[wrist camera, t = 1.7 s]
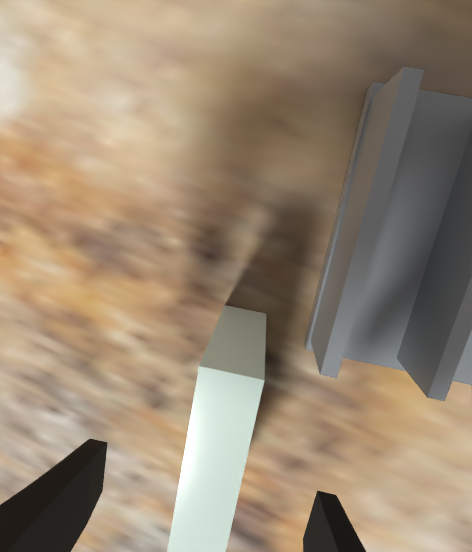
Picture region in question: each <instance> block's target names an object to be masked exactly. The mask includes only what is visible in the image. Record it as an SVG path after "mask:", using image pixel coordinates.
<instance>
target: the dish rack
mask: <svg viewBox="0 0 472 552" xmlns="http://www.w3.org/2000/svg"><path fill="white" fill-rule="evenodd" d="M424 71H425V70H422V69H416V68H410V67H403V68H402V69H401V70H400V71H399V72H397V73H396V74H395V75H394V76H393V77H392V78H391V79H390V80H389V81H388V82H387V83H386V84H385V83H379V82H373V83H372V84H371V85H370V86H369V88H368V90H367V94H366V98H365V102H364V106H363V110H362V113H361V117H360V121H359V125H358V129H357V133H356V137H355V141H354V145H353V149H352V153H351V157H350V161H349V165H348V169H347V173H346V177H345V181H344V185H343V189H342V193H341V197H340V201H339V205H338V209H337V213H336V217H335V221H334V225H333V229H332V233H331V237H330V241H329V245H328V249H327V253H326V257H325V261H324V265H323V269H322V273H321V277H320V281H319V285H318V289H317V293H316V296H315V300H314V304H313V308H312V312H311V316H310V320H309V324H308V328H307V332H306V336H305V340H304V345H305V349H306V350H309V351H314V354H315V358H316V361H317V365H318V369H319V372H320V375H325V376H329V377H334V378H337V376H338V372H339V369H340V365H341V362H342V358H347V359H351V360H356V361H361V362H366V363H370V364H375V365H380V366H385V367H389V368H394V369H399V370H403V371H407V372H408V374H409V375H410V376H411V377H412V379H413V380H414V381H415V383H416V384H417V385H418V386H419V388H420V389H421V390H422V391H423V393H424V394H425V395H426V397H427V398H432V399H437V400H441V401H445V398H446V396H447V393H448V391H449V388H450V385H451V383H452V381H456V382H460V383H465V384H470V385H472V98H469V97H463V96H457V95H451V94H445V93H439V92H433V91H427V90H421V89H419V88H420V85H421V81H422V78H423V74H424Z"/></svg>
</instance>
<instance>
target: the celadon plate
mask: <svg viewBox="0 0 472 552" xmlns="http://www.w3.org/2000/svg"><path fill="white" fill-rule="evenodd" d="M265 346H266V314H265V313H261V312H256V311H251V310H246V309H241V308H236V307H232V306H227V305H225V306H224V308H223V310H222V313H221V315H220V318H219V320H218V322H217V325H216V327H215V330H214V332H213V334H212V337H211V339H210V342H209V344H208V346H207V349H206V351H205V353H204V356H203V358H202V361H201V363H200V365H199V370H198V376H197V382H196V388H195V394H194V399H193V405H192V411H191V417H190V423H189V428H188V434H187V440H186V446H185V452H184V457H183V463H182V469H181V475H180V481H179V486H178V492H177V498H176V504H175V510H174V515H173V521H172V527H171V533H170V539H169V545H168V550H167V552H226V547H227V543H228V539H229V534H230V530H231V525H232V521H233V517H234V512H235V508H236V503H237V499H238V495H239V490H240V486H241V481H242V477H243V473H244V468H245V464H246V459H247V455H248V451H249V446H250V442H251V437H252V433H253V429H254V424H255V420H256V415H257V411H258V407H259V402H260V398H261V393H262V389H263V385H264V380H265Z"/></svg>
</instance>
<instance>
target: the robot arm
mask: <svg viewBox="0 0 472 552" xmlns="http://www.w3.org/2000/svg"><path fill="white" fill-rule="evenodd" d="M106 451H107V442H103V441H98V440H94V439H89V440H87V441H86V442H85V443H83V444H82V445H81V446H80V447H78V448H77V449H76V450H75V451H73V452H72V453H71V454H70V455H68V456H67V457H66V458H64V459H63V460H62V461H61V462H59V463H58V464H57V465H55V466H54V467H53V468H51V469H50V470H49V471H47V472H46V473H45V474H43V475H42V476H41V477H39V478H38V479H37V480H35V481H34V482H33V483H31V484H30V485H28V486H27V487H26V488H24V489H23V490H21V491H20V492H18V493H17V494H16V495H14V496H13V497H11V498H10V499H8V500H7V501H5V502H4V503H2V504H1V505H0V552H71V550H72V548H73V547H74V545H75V543H76V542H77V540H78V538H79V537H80V535H81V533H82V531H83V530H84V528H85V526H86V525H87V523H88V520H89V518H90V516H91V514H92V512H93V510H94V508H95V506H96V504H97V501H98V499H99V497H100V495H101V493H102V490H103V480H104V470H105V461H106ZM303 552H366V550H365V549H364V547H363V545H362V543H361V541H360V539H359V538H358V536H357V534H356V532H355V530H354V528H353V526H352V524H351V523H350V521H349V519H348V517H347V515H346V513H345V511H344V509H343V507H342V505H341V503H340V501H339V499H338V498H337V496H336V495H334V494H329V493H325V492H321V491H317V494H316V497H315V501H314V504H313V507H312V511H311V514H310V517H309V521H308V524H307V527H306V531H305V534H304V537H303Z"/></svg>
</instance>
